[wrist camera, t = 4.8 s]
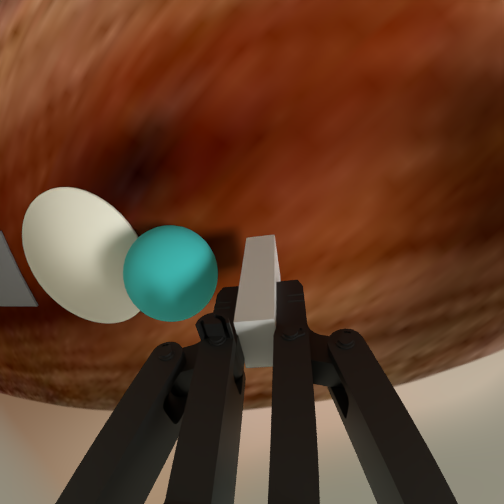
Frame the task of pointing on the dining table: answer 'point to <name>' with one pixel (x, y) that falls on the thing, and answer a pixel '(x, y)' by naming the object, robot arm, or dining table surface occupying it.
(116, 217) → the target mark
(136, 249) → the ball
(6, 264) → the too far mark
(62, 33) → the dining table surface
